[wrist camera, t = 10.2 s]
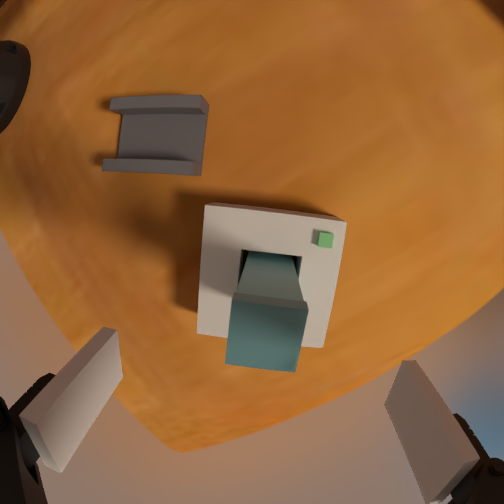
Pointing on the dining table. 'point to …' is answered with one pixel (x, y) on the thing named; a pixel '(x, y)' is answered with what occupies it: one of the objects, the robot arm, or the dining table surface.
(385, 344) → the dining table surface
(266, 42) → the dining table surface
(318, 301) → the port
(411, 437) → the robot arm
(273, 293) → the plug
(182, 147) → the grey u-shaped block
